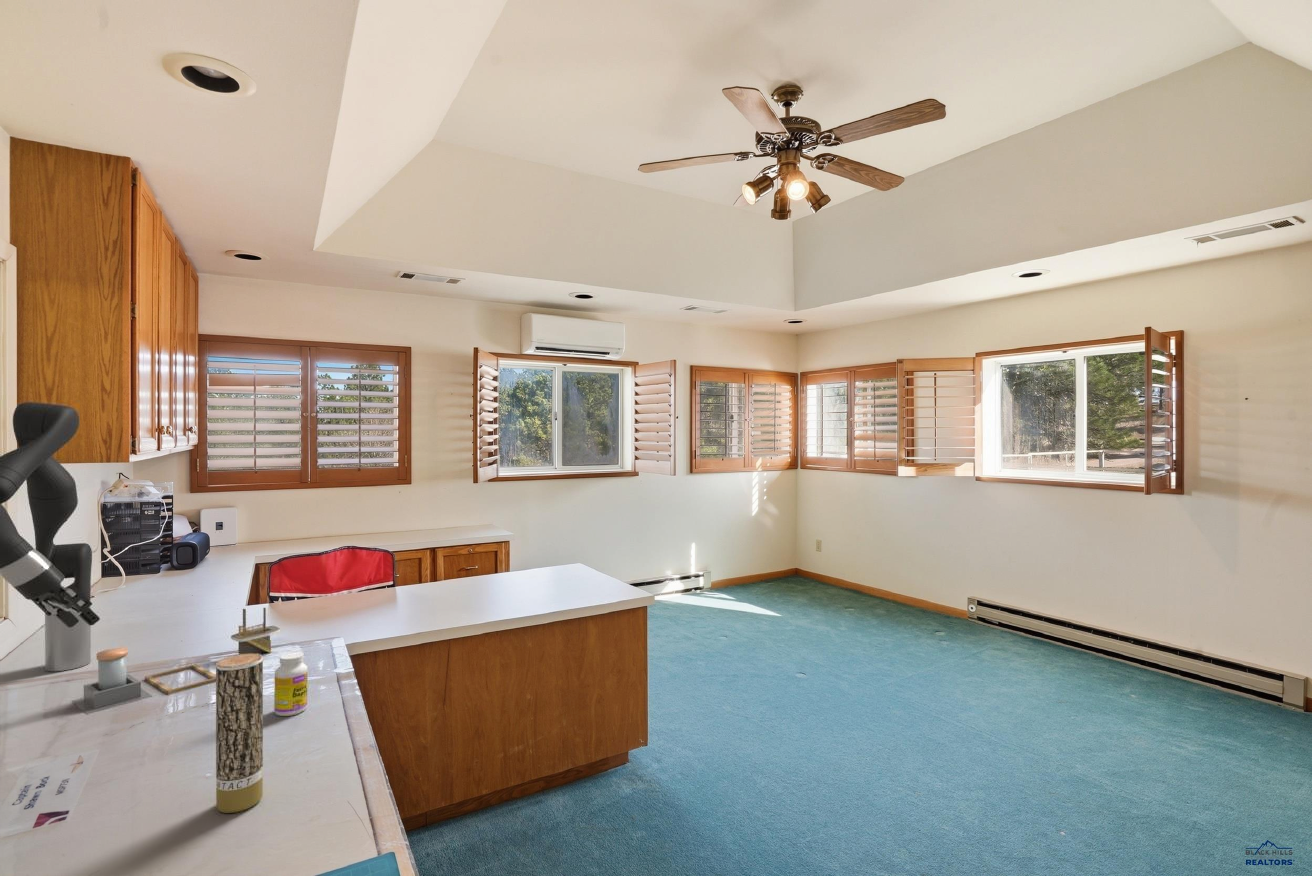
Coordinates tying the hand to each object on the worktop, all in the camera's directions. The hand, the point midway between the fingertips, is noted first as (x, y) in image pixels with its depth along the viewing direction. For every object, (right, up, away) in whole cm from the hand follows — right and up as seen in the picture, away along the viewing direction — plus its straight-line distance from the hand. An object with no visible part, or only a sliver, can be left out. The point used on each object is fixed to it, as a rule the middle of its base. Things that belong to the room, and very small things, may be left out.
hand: (84, 623), depth 150 cm
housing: (+6, -19, 0) cm, 20 cm away
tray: (+14, -19, +12) cm, 27 cm away
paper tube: (+62, -20, -39) cm, 76 cm away
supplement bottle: (+50, -20, -2) cm, 53 cm away
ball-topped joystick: (+6, -18, 0) cm, 19 cm away
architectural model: (+19, -20, +34) cm, 44 cm away
